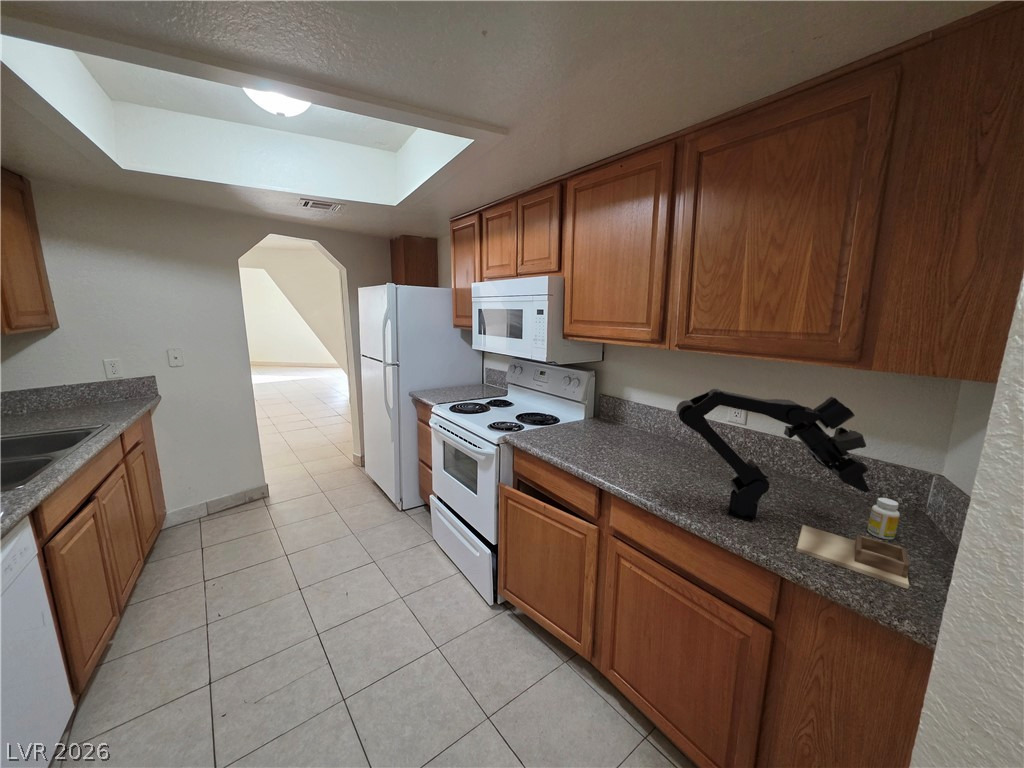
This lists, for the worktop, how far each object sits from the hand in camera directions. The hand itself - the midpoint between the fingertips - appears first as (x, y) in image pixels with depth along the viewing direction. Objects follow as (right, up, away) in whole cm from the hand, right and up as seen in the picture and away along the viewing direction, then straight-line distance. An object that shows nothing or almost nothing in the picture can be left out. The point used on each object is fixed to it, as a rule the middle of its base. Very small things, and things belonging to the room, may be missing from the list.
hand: (857, 483), depth 103 cm
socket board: (-10, -15, -9) cm, 20 cm away
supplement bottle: (+7, -14, +1) cm, 15 cm away
